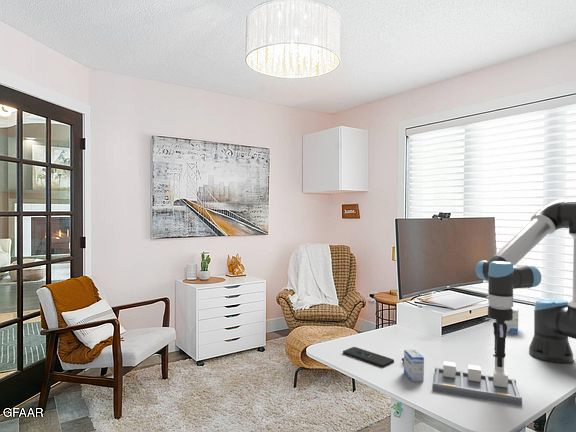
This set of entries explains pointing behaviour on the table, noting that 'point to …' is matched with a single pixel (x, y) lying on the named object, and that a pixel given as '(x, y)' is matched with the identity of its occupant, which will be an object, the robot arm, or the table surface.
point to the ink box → (513, 322)
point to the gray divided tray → (476, 387)
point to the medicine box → (413, 365)
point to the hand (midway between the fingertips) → (499, 374)
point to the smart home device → (368, 357)
